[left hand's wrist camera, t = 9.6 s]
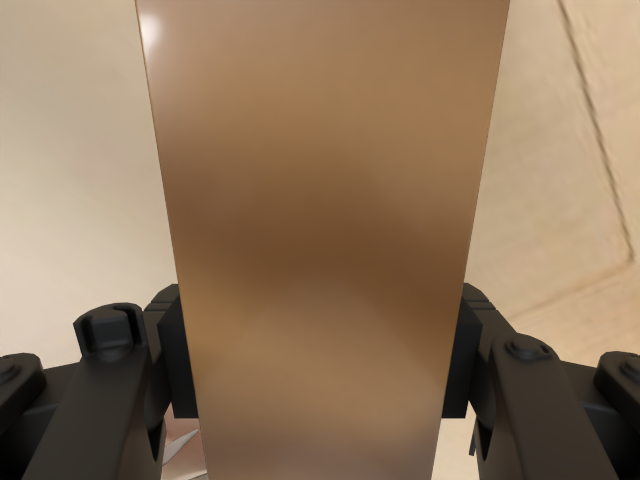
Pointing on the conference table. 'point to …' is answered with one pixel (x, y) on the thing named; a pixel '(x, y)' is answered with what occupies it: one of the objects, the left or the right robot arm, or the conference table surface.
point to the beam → (321, 219)
